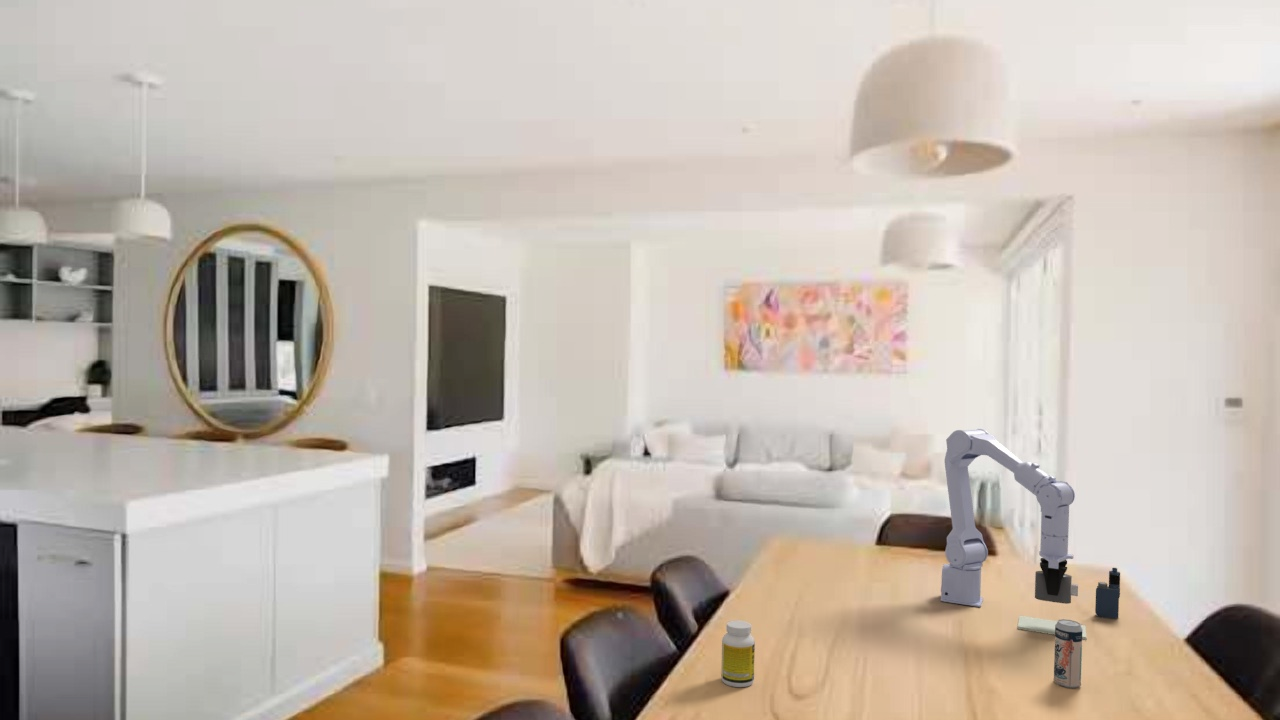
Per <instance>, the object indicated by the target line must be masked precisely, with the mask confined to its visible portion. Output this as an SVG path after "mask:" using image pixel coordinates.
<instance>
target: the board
mask: <svg viewBox="0 0 1280 720" xmlns="http://www.w3.org/2000/svg"><path fill="white" fill-rule="evenodd" d="M1057 622H1058V620H1051V619H1045V618H1039V617H1034V616H1033V617H1031V616H1025V615H1019V617H1018V623H1017V630H1021V629H1023V630H1022V631H1028V632H1029V631H1030V632H1034V631H1036V632H1035V633H1040V632H1042V633H1041V634H1047V633H1048V634H1047V635H1053V634H1054V636H1055V625H1056V623H1057ZM1080 625H1081V627H1082V629H1083V631H1082V640H1085V641H1086V640H1087V630H1086V629H1087V628H1086V625H1083V624H1080Z"/></svg>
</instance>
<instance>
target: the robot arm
mask: <svg viewBox="0 0 1280 720" xmlns="http://www.w3.org/2000/svg"><path fill="white" fill-rule="evenodd" d="M945 442H946V452H945V456H944V469H945V478H946V485H947V492H948V501H949V510H950V517H951V526H952V529H951V531H950V532H949V534H948V535H947V536H946V546H945V552H944V555H945V558H946V560H947V562H948V563H949V564H948V563H944V564H943V565H942V568H941V569H942V570H941V583H940V584H941V587H940V601H941V602H944V603H949V604H957V605H958V604H959V605H965V606H970V607H971V606H972V607H978V608H981V606H982V603H983V600H984V597H983V596H981V592H982V591H981V590H982V589H981V588H982V585H981V584H982V567H983V563H984V562H986V560H987V559H988V555H989V550H988V548H987V545H986V543H985V540H984V538H983V534H982V533H981V531H980V530H978V529H977V527H976V522H975V521H976V520H975V515H974V506H973V505H974V504H973V498H972V490H971V484H970V476H969V475H970V473H969V466H970V465H971V464H972V462H973V461H974V460H975V459H977V458H978V457H980V456H986V457H987V456H988V457H990V458H991V459H992V460H994V461H995V462H997V463H998V464H999V465H1001V466H1003V467H1004V468H1006V469H1007V470H1009V471H1010V472H1012V473H1013V476H1014V480H1015V482H1017V483H1018V484H1020V485H1021V486H1023V487H1024V488H1025V489H1027V491H1028V492H1030V493H1031V494H1033V495H1034V496H1035V497H1036V500H1037V502H1038V504H1039V507H1040V512H1041V518H1040V519H1041V520H1040V545H1039V547H1040V549H1039V552H1038V553H1039V556H1040V557H1041V558H1040V560H1039V561H1040V562H1039V567H1040V569H1041V571H1043V574H1044V577H1045V583H1046V589H1047V593H1048V595H1055V596H1058V593H1059V589H1060V585H1061V581H1062V578H1063V575H1064V574H1066V572H1067V570H1068V567H1067V564H1068V559H1069V560H1073V559H1074V555H1073V554H1071V553H1069V524H1070V523H1069V522H1070V521H1069V520H1070V506H1071V505H1072V504H1073V503H1074V501H1075V499H1076V498H1075V496H1076V495H1075V491H1074V489H1073V488H1072V486H1071V485H1070V484H1069V483H1068V482H1067V481H1063V480H1060V481H1059V480H1057V477H1056V476H1053V475H1050V474H1049V473H1047V472H1045V470H1043V469H1042V468H1040V467H1041V466H1040V464H1038V463H1037V462H1031V461H1026V462H1025V461H1022V460H1021V459H1020V458H1019V457H1017V456H1016V455H1015V454H1014V453H1013V452H1011V451H1010V450H1009V449H1008V448H1006V447H1005V446H1004V445H1003V444H1001V443H1000V442H999V441H998V440H997V439H996V436H995V435H993V434H991V433H989V432H988V431H987V430H986V429H983V428H977V429H966V430H962V429H957V430H954V431H953V432H952V433H950V435H949V436H948V437H946V440H945Z"/></svg>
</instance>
